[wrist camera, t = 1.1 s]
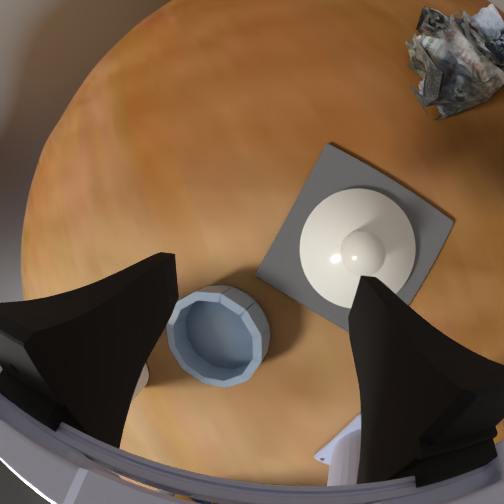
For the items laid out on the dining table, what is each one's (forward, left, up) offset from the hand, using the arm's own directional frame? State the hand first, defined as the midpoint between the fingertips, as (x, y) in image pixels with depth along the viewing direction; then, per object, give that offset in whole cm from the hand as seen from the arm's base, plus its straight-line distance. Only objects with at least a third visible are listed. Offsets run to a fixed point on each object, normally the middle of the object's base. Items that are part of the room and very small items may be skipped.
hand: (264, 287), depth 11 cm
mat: (-4, -3, -12) cm, 13 cm away
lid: (-4, -3, -11) cm, 12 cm away
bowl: (+2, +9, -12) cm, 15 cm away
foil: (-5, -23, -12) cm, 27 cm away
